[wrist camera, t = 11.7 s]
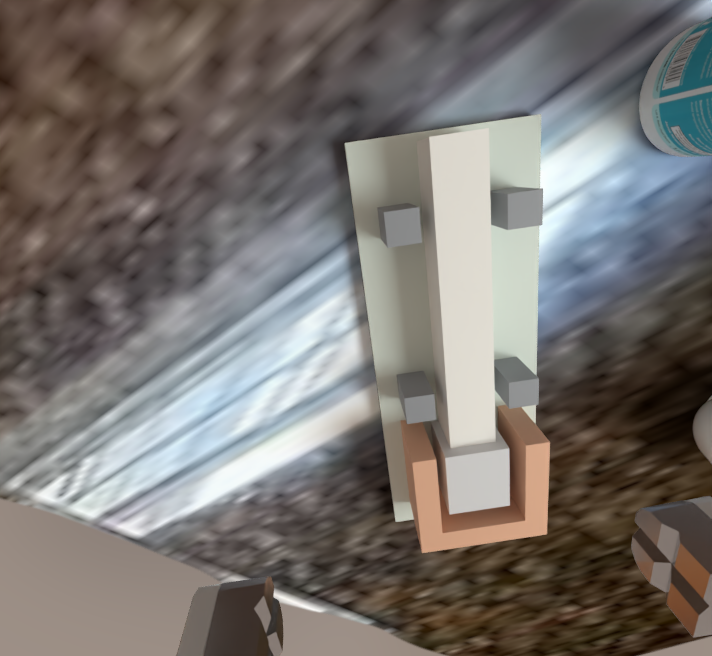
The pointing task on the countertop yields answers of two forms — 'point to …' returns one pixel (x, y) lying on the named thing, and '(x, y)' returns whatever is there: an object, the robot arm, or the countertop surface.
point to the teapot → (704, 429)
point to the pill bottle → (680, 94)
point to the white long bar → (462, 319)
